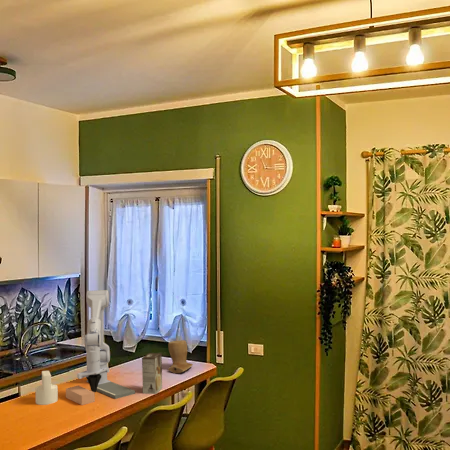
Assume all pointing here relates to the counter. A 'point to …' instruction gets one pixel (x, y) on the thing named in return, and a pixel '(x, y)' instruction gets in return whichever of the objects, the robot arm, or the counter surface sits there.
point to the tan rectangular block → (80, 395)
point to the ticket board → (114, 390)
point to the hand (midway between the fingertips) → (93, 391)
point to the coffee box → (152, 373)
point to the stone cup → (178, 356)
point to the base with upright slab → (46, 390)
